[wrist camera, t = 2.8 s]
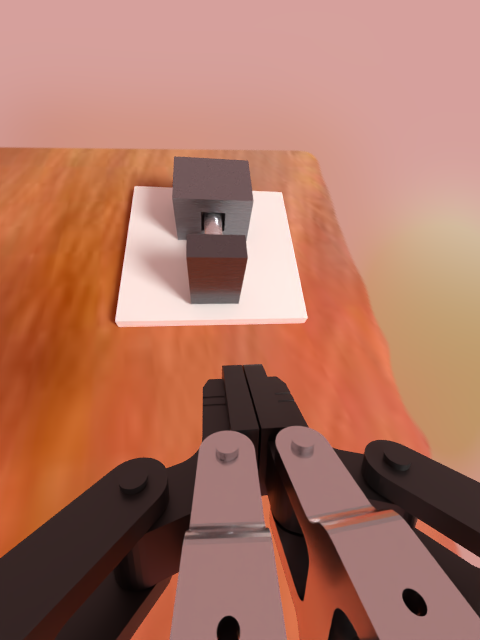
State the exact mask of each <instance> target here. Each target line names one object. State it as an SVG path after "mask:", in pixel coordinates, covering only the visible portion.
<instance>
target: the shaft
mask: <svg viewBox="0 0 480 640" xmlns="http://www.w3.org/2000/svg"><path fill="white" fill-rule="evenodd" d="M186 260H187V269H188V278H189V288H190V297H191V304H239V299H240V295H241V290H242V285H243V280H244V275H245V270H246V265H247V260H248V254H247V245H246V236H245V235H223V231H222V214H221V213H211V212H204V234H187V243H186Z"/></svg>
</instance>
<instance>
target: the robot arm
mask: <svg viewBox="0 0 480 640" xmlns="http://www.w3.org/2000/svg"><path fill="white" fill-rule="evenodd" d="M263 495H268V498H269V502H270V526H271V529H272V533H273V536H274V539H275V543H276V546H277V549H278V553H279V556H280V559H281V563H282V566H283V570H284V573H285V576H286V580H287V583H288V586H289V590H290V593H291V596H292V600H293V603H294V607H295V611H296V615H297V621H298V629H299V638H300V640H480V568H477V567H475V566H473V565H471V564H470V563H468V562H467V561H465V560H464V559H462V558H461V557H459V556H458V555H456V554H454V553H453V552H451V551H450V550H448V549H447V548H445V547H444V546H442V545H441V544H439V543H438V542H436V541H435V540H433V539H432V538H430V537H428V536H427V535H425V534H424V533H422V532H421V531H419V530H418V529H416V528H415V525H416V522H417V519H420V520H421V521H423V522H424V523H426V524H428V525H429V526H431V527H432V528H434V529H435V530H437V531H439V532H440V533H442V534H443V535H445V536H447V537H448V538H450V539H451V540H453V541H455V542H456V543H458V544H459V545H461V546H463V547H464V548H466V549H467V550H469V551H470V552H472V553H474V554H475V555H477V556H478V557H480V483H479V482H477V481H475V480H473V479H471V478H469V477H467V476H465V475H463V474H461V473H459V472H457V471H454V470H453V469H450V468H448V467H447V466H444V465H442V464H440V463H438V462H436V461H434V460H432V459H430V458H428V457H426V456H424V455H422V454H420V453H418V452H416V451H414V450H412V449H410V448H408V447H406V446H403V445H401V444H399V443H396V442H392V441H387V440H376V441H372V442H370V443H369V444H368V445H367V446H366V448H365V452H364V454H360V453H354V452H348V451H343V450H338V449H335V448H332V447H331V445H330V444H329V442H328V441H327V440H326V438H325V437H324V436H323V435H321V434H320V433H319V432H317V431H315V430H313V429H311V428H309V427H308V425H307V423H306V422H305V420H304V418H303V416H302V414H301V412H300V410H299V408H298V406H297V404H296V403H295V402H294V399H293V397H292V395H291V394H290V391H289V389H288V387H287V385H286V384H285V383H284V382H283V381H282V380H280V379H279V378H278V377H267V375H266V372H265V370H264V368H263V365H262V364H254V365H229V366H222V379H210V380H208V381H207V383H206V384H205V386H204V387H203V437H202V443H201V446H200V448H199V450H198V451H197V452H196V453H195V454H194V455H193V456H192V457H191V458H189V459H188V460H186V461H184V462H182V463H180V464H177V465H174V466H172V467H169V468H165V466H164V465H163V464H162V463H161V462H159V461H158V460H155V459H152V458H136V459H132V460H129V461H126V462H124V463H122V464H120V465H119V466H117V467H116V468H114V469H113V470H112V471H110V472H109V473H108V474H107V475H105V476H104V477H103V478H102V479H100V480H99V481H98V482H97V483H95V484H94V485H93V486H91V487H90V488H89V489H88V490H86V491H85V492H84V493H83V494H81V495H80V496H79V497H78V498H76V499H75V500H74V501H72V502H71V503H70V504H69V505H67V506H66V507H65V508H64V509H62V510H61V511H60V512H58V513H57V514H56V515H55V516H53V517H52V518H51V519H50V520H48V521H47V522H46V523H45V524H43V525H42V526H41V527H39V528H38V529H37V530H36V531H34V532H33V533H32V534H31V535H29V536H28V537H27V538H26V539H24V540H23V541H22V542H20V543H19V544H18V545H17V546H15V547H14V548H13V549H12V550H10V551H9V552H8V553H7V554H5V555H4V556H3V557H1V558H0V640H130V639H131V637H132V636H133V635H134V633H135V632H136V630H137V629H138V627H139V626H140V624H141V623H142V622H143V620H144V619H145V617H146V616H147V614H148V613H149V612H150V610H151V609H152V607H153V606H154V604H155V603H156V601H157V600H158V599H159V597H160V596H161V594H162V593H163V591H164V590H165V588H166V587H167V585H168V584H169V582H170V580H171V577H172V575H174V574H176V573H178V572H179V576H178V583H177V590H176V597H175V605H174V612H173V619H172V627H171V634H170V640H287V637H286V631H285V624H284V617H283V610H282V604H281V597H280V590H279V583H278V577H277V570H276V563H275V556H274V550H273V543H272V538H271V534H270V530H269V528H266V527H265V522H264V515H263V507H262V500H261V496H263Z"/></svg>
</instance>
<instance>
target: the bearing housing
mask: <svg viewBox="0 0 480 640" xmlns="http://www.w3.org/2000/svg"><path fill="white" fill-rule="evenodd" d="M172 201H173V208H174V216H175V223H176V230H177V238H178V240H187V234H204V212H211V213H221V214H222V231H223V235H245V236H246V241H247V235H248V229H249V224H250V218H251V213H252V207H253V193H252V186H251V179H250V171H249V164H248V161H244V160H226V159H209V158H191V157H174V172H173V190H172Z"/></svg>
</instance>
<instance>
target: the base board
mask: <svg viewBox="0 0 480 640" xmlns="http://www.w3.org/2000/svg"><path fill="white" fill-rule="evenodd" d="M172 190H173V188H169V187H146V186H135V187H134V194H133V201H132V208H131V215H130V222H129V229H128V236H127V243H126V249H125V256H124V263H123V270H122V277H121V284H120V291H119V298H118V305H117V311H116V318H115V322H116V324H117V325H118V327H135V326H184V325H233V324H282V323H304V322H305V321H306V320H307V318H308V317H307V313H306V308H305V303H304V298H303V293H302V288H301V283H300V279H299V274H298V269H297V264H296V259H295V254H294V249H293V245H292V240H291V235H290V230H289V225H288V220H287V216H286V211H285V206H284V201H283V196H282V192H263V191H252V193H253V207H252V213H251V218H250V224H249V229H248V235H247V241H246V245H247V254H248V260H247V265H246V270H245V275H244V280H243V285H242V290H241V295H240V299H239V304H191V297H190V288H189V278H188V269H187V260H186V243H187V240H178V238H177V230H176V223H175V216H174V208H173V201H172Z"/></svg>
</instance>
